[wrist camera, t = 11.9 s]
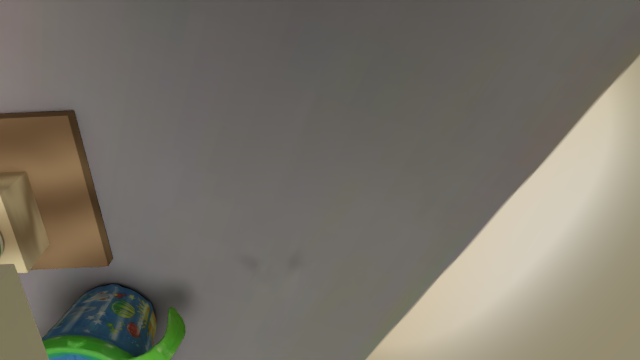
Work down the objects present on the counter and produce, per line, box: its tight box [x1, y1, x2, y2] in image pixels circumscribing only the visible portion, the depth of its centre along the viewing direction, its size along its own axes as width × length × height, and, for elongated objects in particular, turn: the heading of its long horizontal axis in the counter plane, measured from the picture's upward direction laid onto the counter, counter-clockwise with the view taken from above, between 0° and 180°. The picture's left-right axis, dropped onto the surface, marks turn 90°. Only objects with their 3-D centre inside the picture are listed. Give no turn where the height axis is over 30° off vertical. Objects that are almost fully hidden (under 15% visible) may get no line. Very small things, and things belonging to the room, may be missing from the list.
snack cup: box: [42, 284, 185, 360], centre depth 46 cm, size 16×10×10 cm
